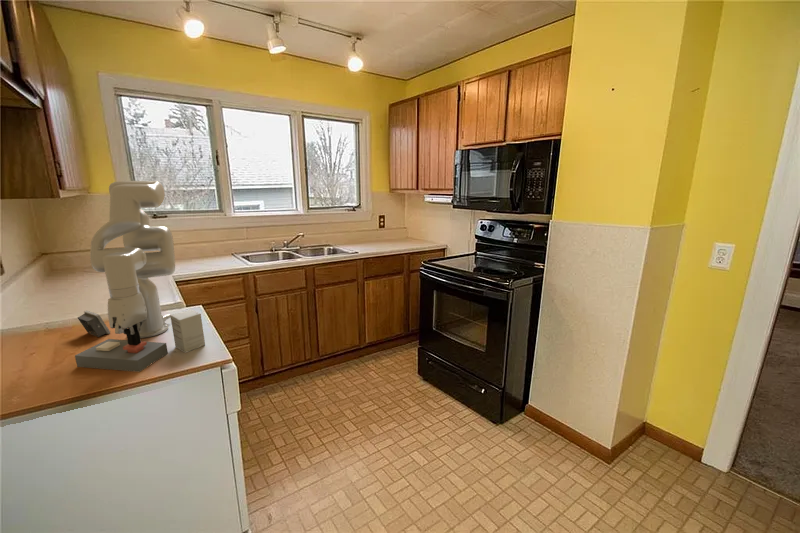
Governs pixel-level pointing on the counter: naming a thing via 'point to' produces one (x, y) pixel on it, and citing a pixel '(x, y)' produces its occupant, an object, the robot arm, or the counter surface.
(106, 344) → the ivory plug
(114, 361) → the plug panel
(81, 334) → the counter surface
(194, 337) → the supplement box
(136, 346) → the red plug
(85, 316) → the electrical switch
